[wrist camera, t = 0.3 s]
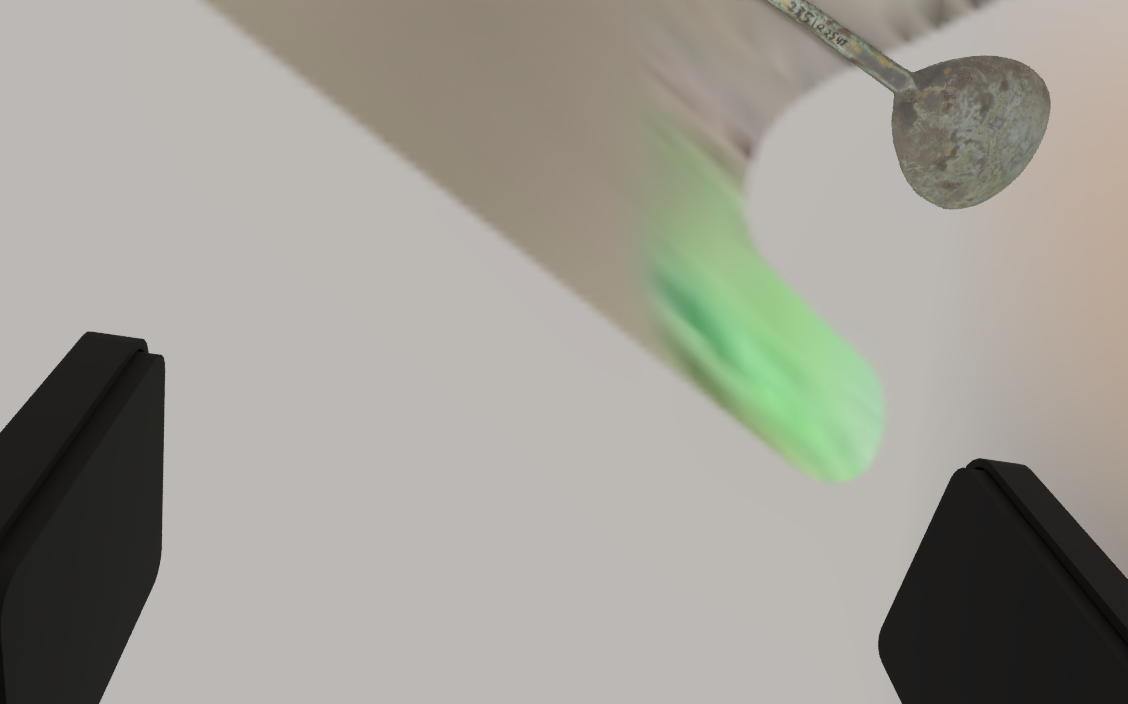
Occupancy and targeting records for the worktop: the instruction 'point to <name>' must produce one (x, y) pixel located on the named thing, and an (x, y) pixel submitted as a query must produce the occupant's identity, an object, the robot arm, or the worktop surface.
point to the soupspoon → (949, 114)
